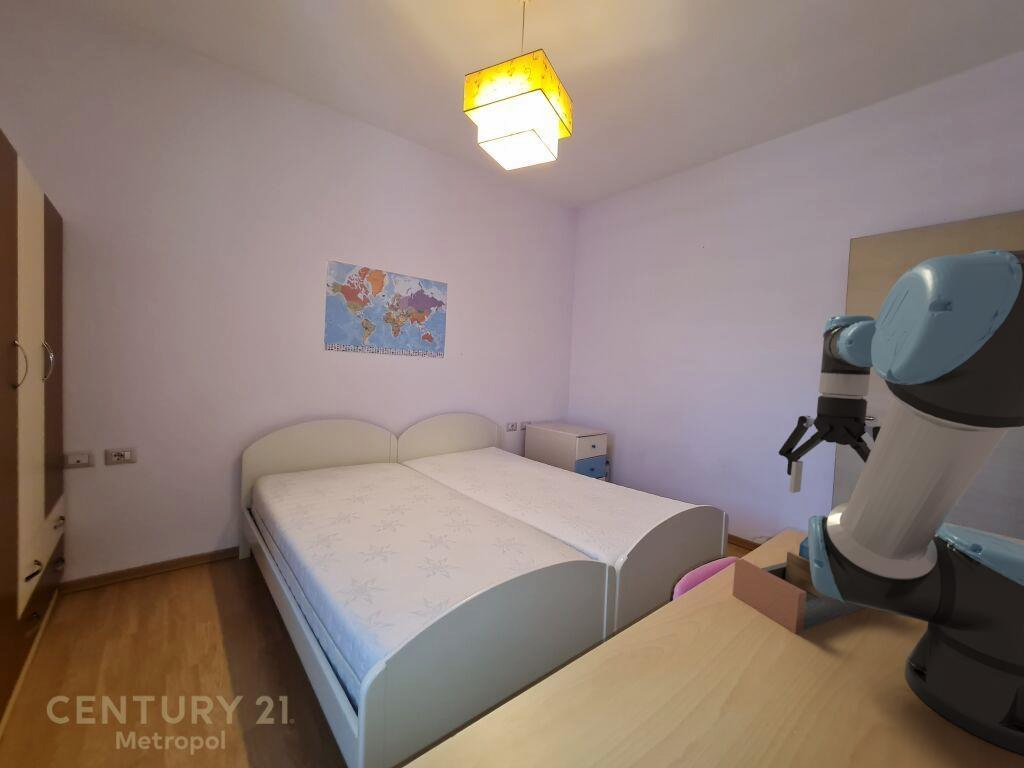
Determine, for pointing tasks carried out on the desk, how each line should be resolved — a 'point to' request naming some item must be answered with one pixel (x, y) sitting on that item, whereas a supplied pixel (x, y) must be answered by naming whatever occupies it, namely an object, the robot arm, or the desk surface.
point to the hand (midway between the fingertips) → (831, 502)
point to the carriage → (800, 573)
